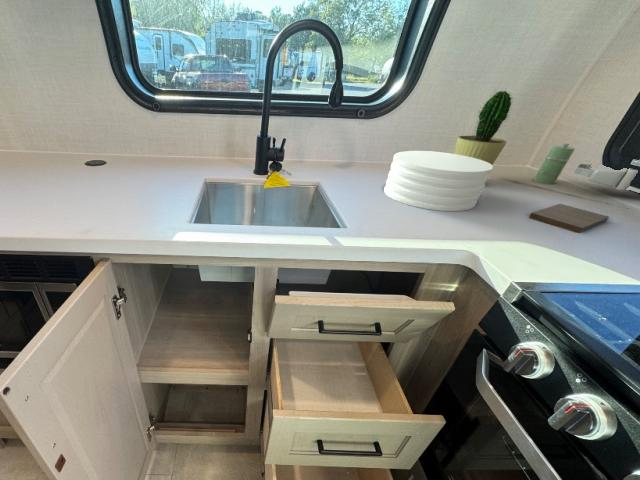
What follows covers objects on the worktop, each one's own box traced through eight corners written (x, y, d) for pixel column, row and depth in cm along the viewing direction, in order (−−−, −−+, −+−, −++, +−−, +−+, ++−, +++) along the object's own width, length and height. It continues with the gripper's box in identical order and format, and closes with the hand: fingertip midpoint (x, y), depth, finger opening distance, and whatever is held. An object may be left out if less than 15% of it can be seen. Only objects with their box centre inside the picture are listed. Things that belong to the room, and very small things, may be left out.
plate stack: (496, 207, 99) (516, 169, 92) (423, 214, 92) (439, 174, 86) (430, 181, 121) (442, 149, 114) (367, 186, 114) (376, 152, 107)
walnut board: (556, 208, 100) (559, 203, 99) (605, 221, 91) (609, 216, 90) (528, 217, 92) (531, 212, 92) (579, 233, 84) (582, 227, 83)
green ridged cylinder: (554, 183, 123) (579, 143, 114) (552, 187, 119) (577, 146, 110) (533, 180, 126) (555, 141, 118) (530, 183, 123) (552, 143, 114)
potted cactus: (438, 173, 131) (471, 86, 113) (479, 177, 128) (520, 88, 110) (446, 184, 119) (485, 88, 101) (492, 188, 116) (541, 90, 98)
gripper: (637, 161, 111) (585, 154, 119) (636, 171, 99) (579, 163, 107) (624, 180, 114) (574, 172, 122) (621, 191, 103) (567, 181, 111)
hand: (576, 168), depth 115 cm, fingers open, 8 cm apart
